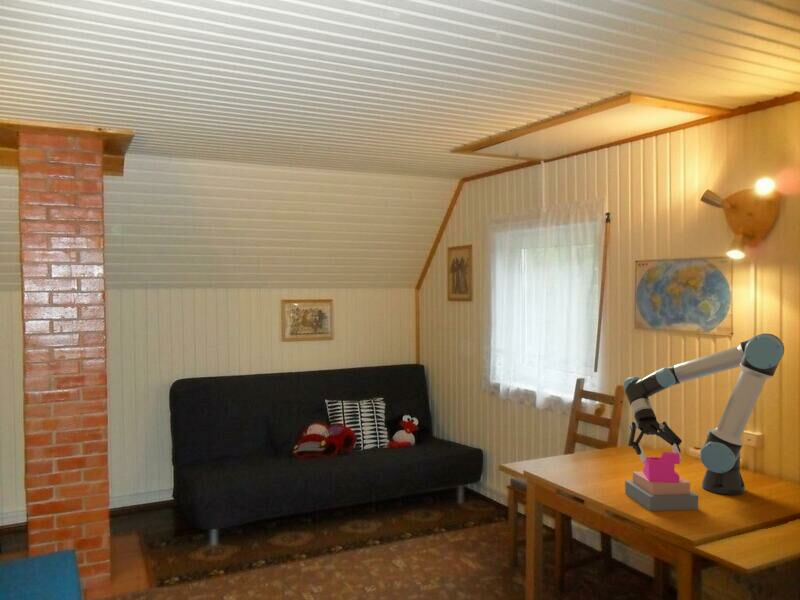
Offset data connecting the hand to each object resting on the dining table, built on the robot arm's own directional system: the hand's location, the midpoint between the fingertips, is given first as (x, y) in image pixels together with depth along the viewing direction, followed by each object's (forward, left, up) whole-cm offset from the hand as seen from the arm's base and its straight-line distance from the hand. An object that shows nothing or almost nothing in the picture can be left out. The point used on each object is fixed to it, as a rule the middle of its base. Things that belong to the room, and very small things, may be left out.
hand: (662, 461), depth 245 cm
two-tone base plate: (0, -1, -15) cm, 15 cm away
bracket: (0, -1, -6) cm, 6 cm away
